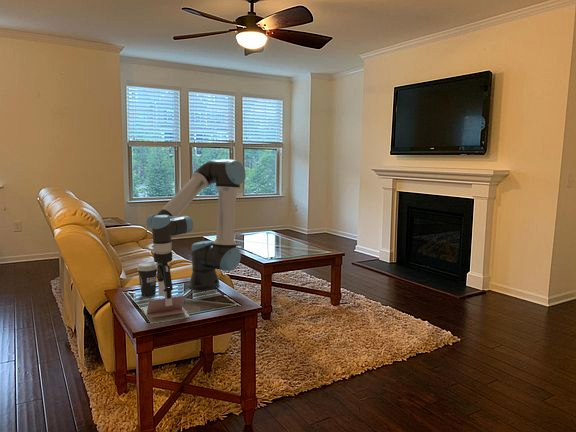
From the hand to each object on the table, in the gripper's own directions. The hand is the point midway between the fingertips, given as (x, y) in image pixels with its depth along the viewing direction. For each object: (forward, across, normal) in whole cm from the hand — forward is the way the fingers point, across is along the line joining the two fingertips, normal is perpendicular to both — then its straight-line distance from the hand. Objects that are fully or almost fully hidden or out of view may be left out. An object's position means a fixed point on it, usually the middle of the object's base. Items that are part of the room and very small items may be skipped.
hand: (165, 300), depth 190 cm
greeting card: (+3, +5, -8) cm, 10 cm away
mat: (+5, 0, 0) cm, 5 cm away
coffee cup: (+6, -29, -2) cm, 29 cm away
